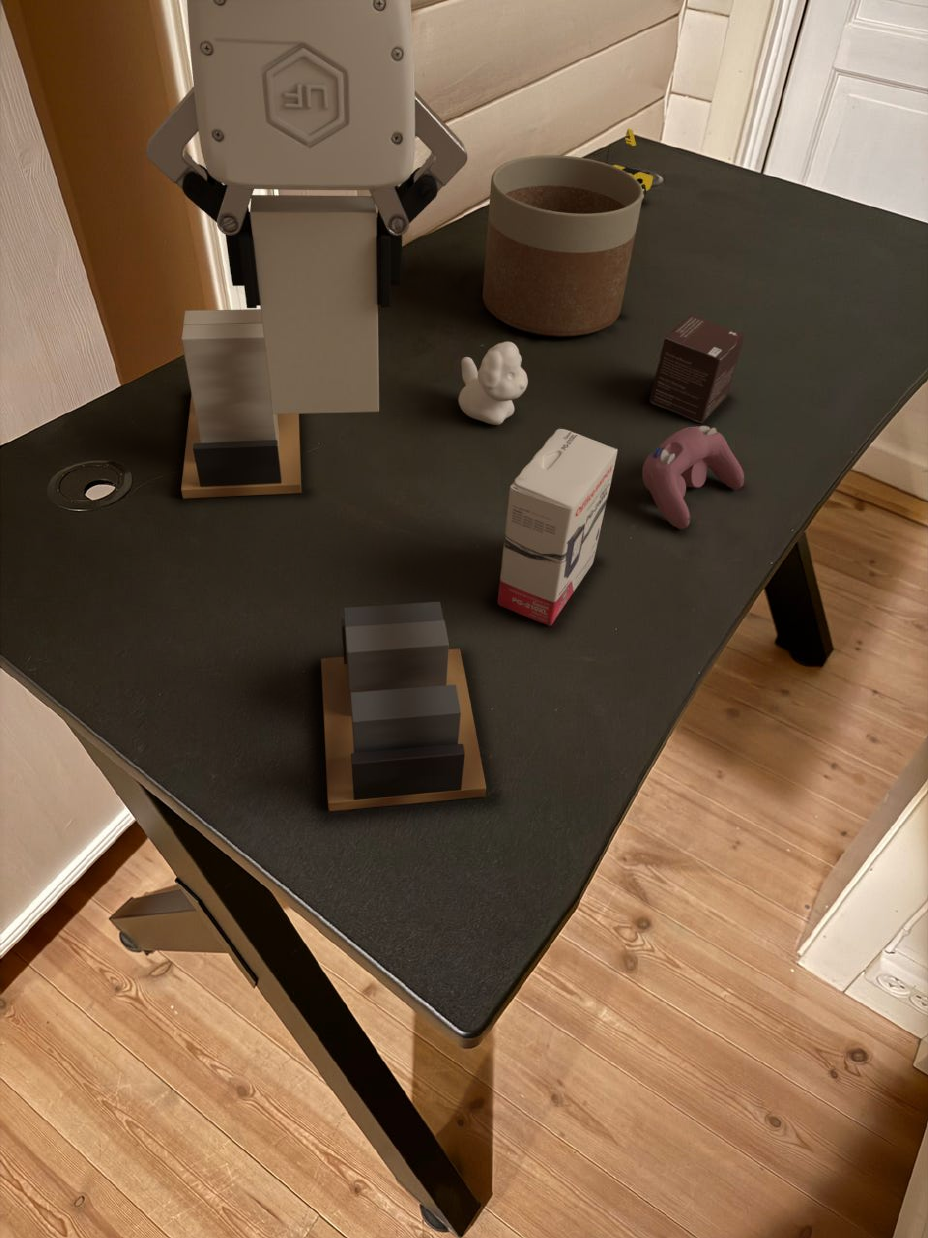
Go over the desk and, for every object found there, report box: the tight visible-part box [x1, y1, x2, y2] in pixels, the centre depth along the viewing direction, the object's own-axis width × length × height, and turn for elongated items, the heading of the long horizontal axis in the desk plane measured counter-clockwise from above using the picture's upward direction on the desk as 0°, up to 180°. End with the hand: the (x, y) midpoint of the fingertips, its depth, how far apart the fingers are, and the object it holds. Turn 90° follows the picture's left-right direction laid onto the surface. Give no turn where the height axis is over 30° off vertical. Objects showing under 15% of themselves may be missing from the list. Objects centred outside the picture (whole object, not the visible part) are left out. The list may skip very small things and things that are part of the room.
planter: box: [482, 154, 643, 338], centre depth 99 cm, size 16×16×14 cm
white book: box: [249, 194, 380, 415], centre depth 51 cm, size 6×2×12 cm, turn 97°
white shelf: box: [180, 308, 303, 499], centre depth 78 cm, size 10×16×13 cm, turn 8°
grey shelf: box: [320, 601, 487, 812], centre depth 59 cm, size 10×12×8 cm
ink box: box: [497, 428, 618, 627], centre depth 68 cm, size 8×5×12 cm, turn 151°
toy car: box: [605, 128, 654, 202], centre depth 123 cm, size 12×8×8 cm, turn 145°
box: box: [649, 314, 746, 424], centre depth 89 cm, size 6×6×7 cm
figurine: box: [457, 341, 529, 426], centre depth 85 cm, size 5×8×8 cm
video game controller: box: [641, 425, 745, 530], centre depth 79 cm, size 10×5×7 cm, turn 135°
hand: (318, 293), depth 50 cm, fingers closed on white book, 6 cm apart
